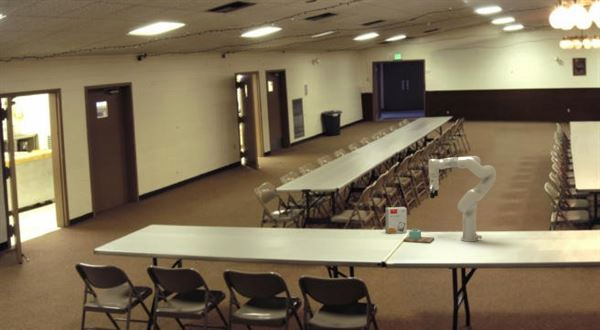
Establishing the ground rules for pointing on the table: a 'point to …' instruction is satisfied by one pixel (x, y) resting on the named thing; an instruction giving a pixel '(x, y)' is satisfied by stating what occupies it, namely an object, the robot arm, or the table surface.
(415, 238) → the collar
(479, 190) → the robot arm
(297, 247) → the table surface
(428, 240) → the base board
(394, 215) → the hard drive box
